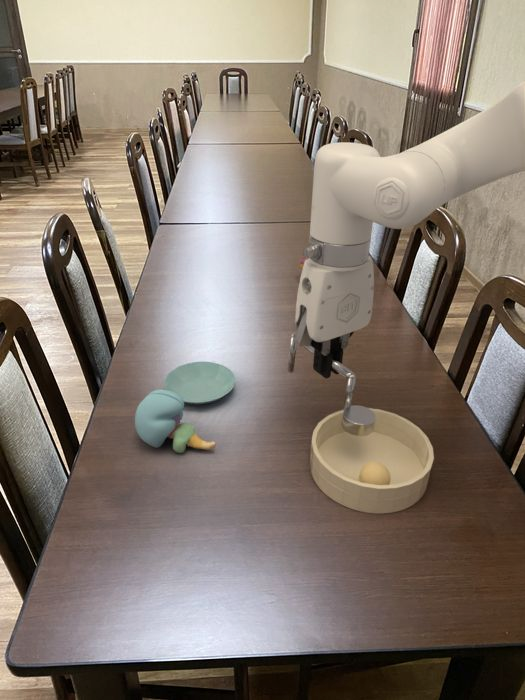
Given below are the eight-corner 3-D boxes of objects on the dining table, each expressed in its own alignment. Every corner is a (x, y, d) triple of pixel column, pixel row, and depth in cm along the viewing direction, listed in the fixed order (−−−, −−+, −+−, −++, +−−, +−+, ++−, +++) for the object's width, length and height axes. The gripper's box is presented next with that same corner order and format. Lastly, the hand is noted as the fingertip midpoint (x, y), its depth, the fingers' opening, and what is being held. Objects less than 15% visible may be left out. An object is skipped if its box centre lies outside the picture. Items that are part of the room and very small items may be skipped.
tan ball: (394, 491, 71) (399, 469, 69) (372, 504, 69) (376, 481, 67) (373, 473, 73) (377, 451, 71) (351, 485, 72) (354, 462, 69)
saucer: (191, 422, 83) (190, 411, 82) (151, 389, 91) (150, 377, 90) (249, 394, 90) (249, 382, 89) (207, 364, 97) (207, 354, 96)
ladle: (380, 430, 73) (389, 386, 70) (356, 440, 71) (365, 395, 67) (299, 367, 86) (304, 327, 82) (277, 374, 84) (281, 333, 80)
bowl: (453, 481, 73) (459, 456, 71) (365, 533, 65) (369, 507, 63) (370, 418, 85) (373, 395, 82) (287, 456, 77) (288, 432, 75)
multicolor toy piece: (206, 424, 70) (124, 400, 73) (204, 473, 75) (127, 449, 78) (226, 394, 76) (150, 372, 79) (223, 441, 81) (151, 419, 83)
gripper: (308, 272, 61) (299, 402, 70) (404, 247, 68) (384, 368, 78) (270, 251, 66) (267, 375, 76) (364, 230, 73) (350, 345, 83)
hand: (326, 371), depth 77 cm, fingers closed on ladle, 1 cm apart
